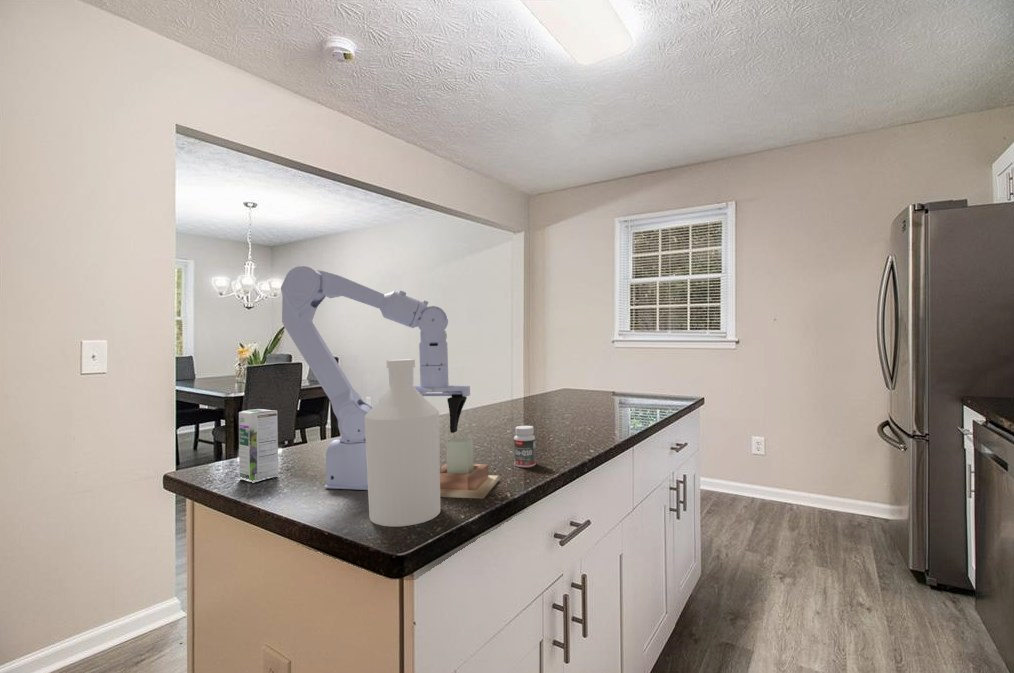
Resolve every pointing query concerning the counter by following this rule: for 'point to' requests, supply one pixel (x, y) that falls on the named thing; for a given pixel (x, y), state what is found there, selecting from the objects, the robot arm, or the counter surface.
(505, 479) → the counter surface
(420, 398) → the bottle
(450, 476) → the socket block
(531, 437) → the pill bottle
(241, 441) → the syrup box
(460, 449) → the peg
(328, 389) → the robot arm
